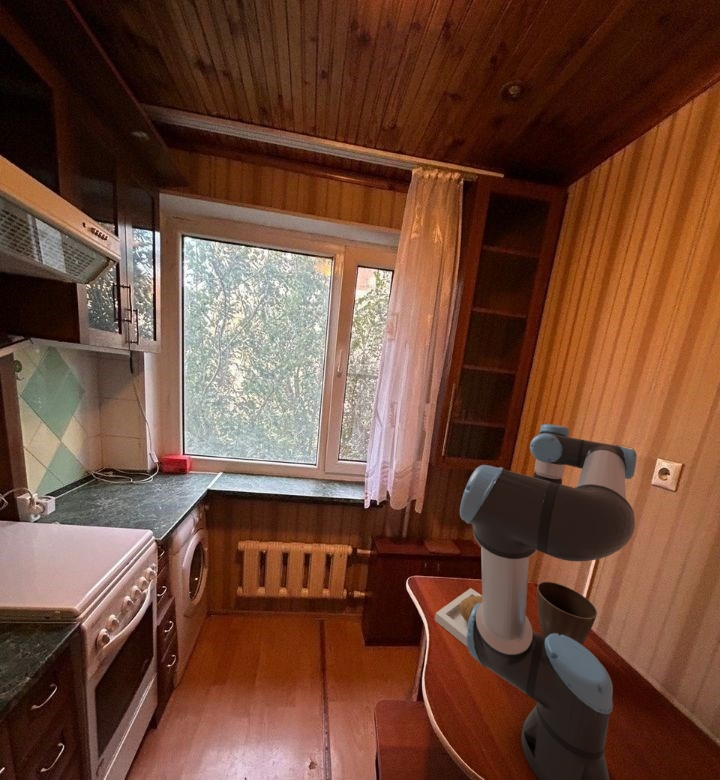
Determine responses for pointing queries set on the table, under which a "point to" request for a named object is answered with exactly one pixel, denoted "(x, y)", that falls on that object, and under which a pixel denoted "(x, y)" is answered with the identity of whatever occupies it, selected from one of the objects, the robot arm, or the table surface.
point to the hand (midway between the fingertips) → (537, 542)
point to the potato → (469, 606)
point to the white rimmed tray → (455, 617)
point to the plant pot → (564, 612)
